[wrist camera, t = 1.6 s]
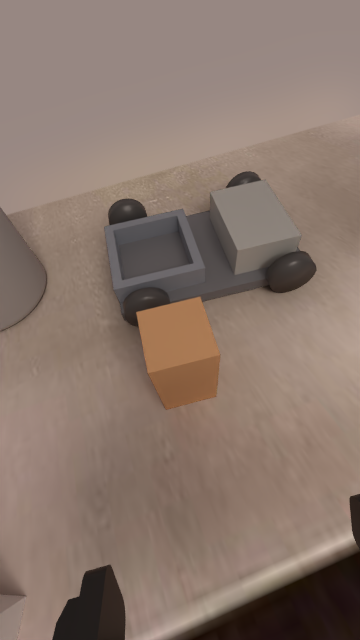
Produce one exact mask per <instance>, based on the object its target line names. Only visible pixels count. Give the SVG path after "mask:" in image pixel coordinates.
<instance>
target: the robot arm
mask: <svg viewBox="0 0 360 640" xmlns="http://www.w3.org/2000/svg"><path fill="white" fill-rule="evenodd" d="M350 511H351V523H352V532H353V536H354V539H355V541H356V543H357V545H358V547H359V549H360V494H357V495H354V496H351V497H350ZM52 640H125V606H124V601H123V597H122V594H121V591H120V589H119V586H118V583H117V580H116V578H115V575H114V572H113V569H112V567H111V565H107V566H103V567H100V568H96V569H93V570H89V571H86V572H85V574H84V577H83V580H82V585H81V591H80V596H79V597H76V598H72V599H69V600H68V602H67V604H66V606H65V607H64V609H63V611H62V613H61V615H60V617H59V619H58V621H57V623H56V627H55V631H54V635H53V639H52Z"/></svg>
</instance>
